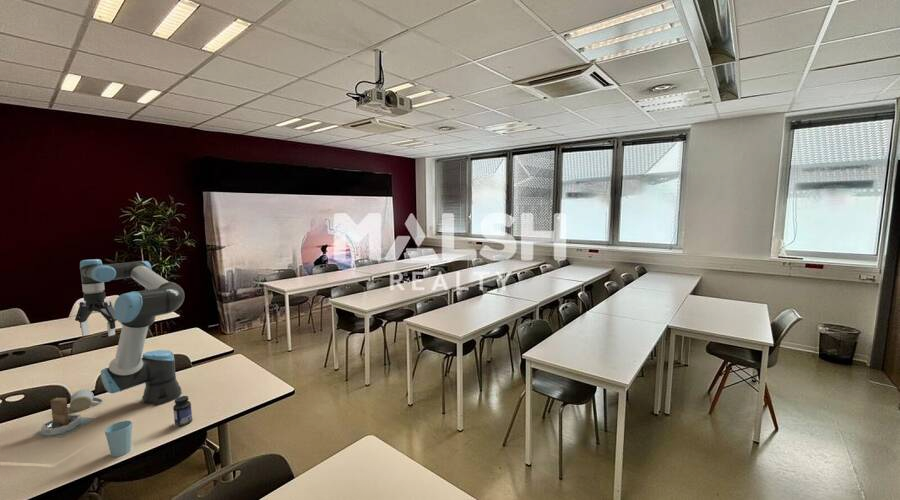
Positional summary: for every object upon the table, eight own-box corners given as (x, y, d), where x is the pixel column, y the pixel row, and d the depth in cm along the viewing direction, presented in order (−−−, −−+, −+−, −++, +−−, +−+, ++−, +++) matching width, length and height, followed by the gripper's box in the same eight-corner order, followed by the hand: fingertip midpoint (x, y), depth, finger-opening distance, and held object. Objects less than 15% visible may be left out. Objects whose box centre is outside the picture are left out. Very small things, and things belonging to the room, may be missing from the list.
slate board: (97, 419, 160) (97, 417, 160) (61, 439, 146) (61, 437, 146) (70, 418, 161) (70, 416, 160) (31, 438, 147) (31, 436, 147)
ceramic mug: (70, 415, 164) (68, 398, 163) (71, 408, 170) (70, 392, 169) (102, 406, 171) (101, 391, 170) (102, 400, 177) (101, 385, 176)
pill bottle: (195, 418, 160) (193, 394, 159) (187, 426, 154) (185, 401, 153) (179, 419, 159) (177, 395, 158) (171, 427, 153) (169, 402, 152)
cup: (107, 451, 138) (105, 425, 137) (134, 443, 143) (132, 418, 142) (106, 461, 132) (103, 434, 131) (134, 452, 137) (132, 426, 136)
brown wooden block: (59, 424, 153) (56, 397, 152) (69, 425, 153) (66, 398, 152) (53, 428, 151) (50, 400, 150) (63, 428, 151) (60, 400, 150)
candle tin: (64, 420, 158) (64, 413, 158) (88, 420, 157) (87, 413, 157) (34, 435, 147) (33, 428, 147) (59, 436, 146) (58, 428, 146)
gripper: (126, 290, 176) (130, 332, 178) (78, 289, 178) (83, 332, 180) (110, 293, 169) (115, 338, 171) (61, 293, 171) (66, 337, 173)
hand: (98, 335), depth 176 cm, fingers open, 13 cm apart
